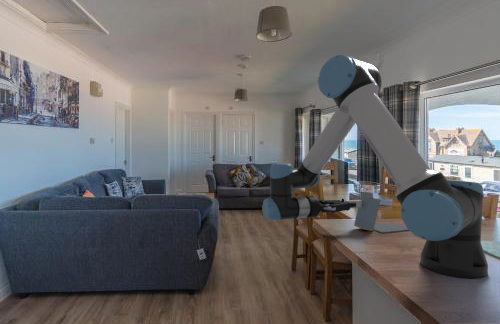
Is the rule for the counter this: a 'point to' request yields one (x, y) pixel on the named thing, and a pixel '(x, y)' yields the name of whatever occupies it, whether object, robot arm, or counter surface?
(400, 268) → the counter surface
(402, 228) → the mat
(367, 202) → the slate block
